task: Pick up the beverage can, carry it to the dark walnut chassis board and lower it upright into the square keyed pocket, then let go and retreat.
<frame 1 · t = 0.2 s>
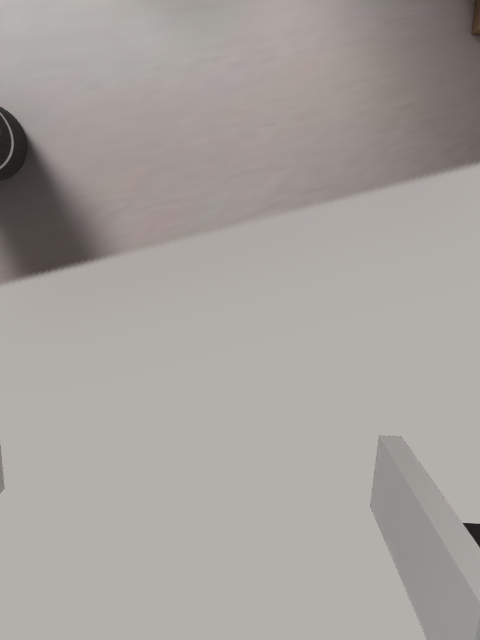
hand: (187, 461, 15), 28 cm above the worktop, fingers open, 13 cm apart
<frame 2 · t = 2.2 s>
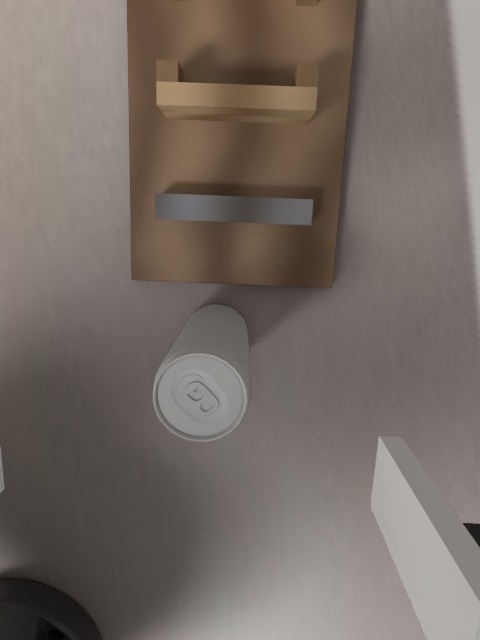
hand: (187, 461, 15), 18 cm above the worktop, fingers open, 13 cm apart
chassis: (238, 117, 29), on the worktop
beverage can: (217, 333, 32), on the worktop
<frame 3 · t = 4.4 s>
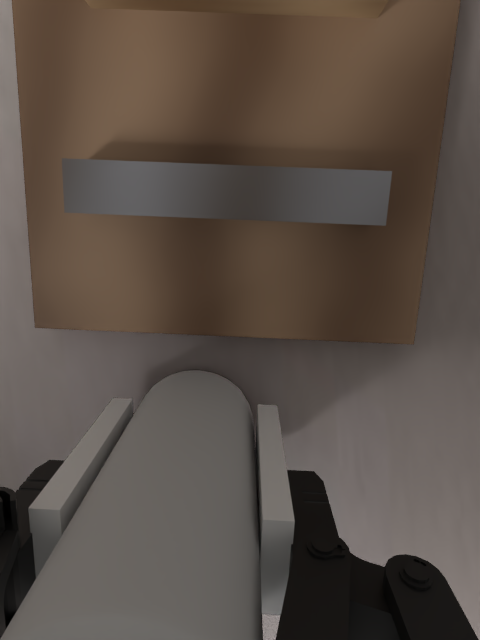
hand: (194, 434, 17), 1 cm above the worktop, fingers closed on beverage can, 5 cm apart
chassis: (235, 13, 14), on the worktop
beverage can: (198, 417, 18), on the worktop, touching gripper
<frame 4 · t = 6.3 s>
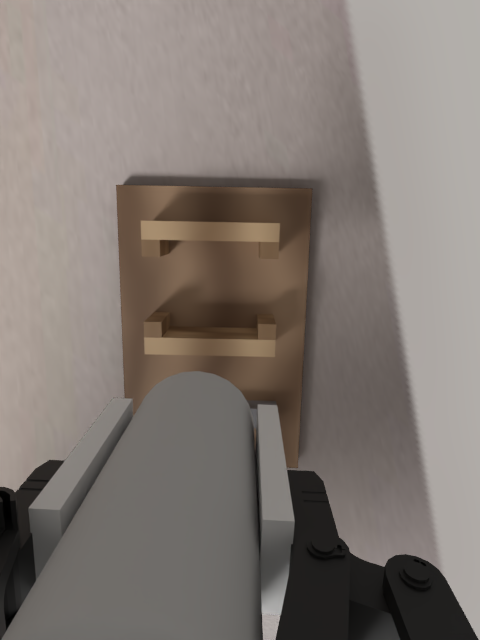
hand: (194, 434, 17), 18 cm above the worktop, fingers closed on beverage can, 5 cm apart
chassis: (214, 332, 34), on the worktop
beverage can: (198, 418, 18), point 16 cm above the worktop, touching gripper
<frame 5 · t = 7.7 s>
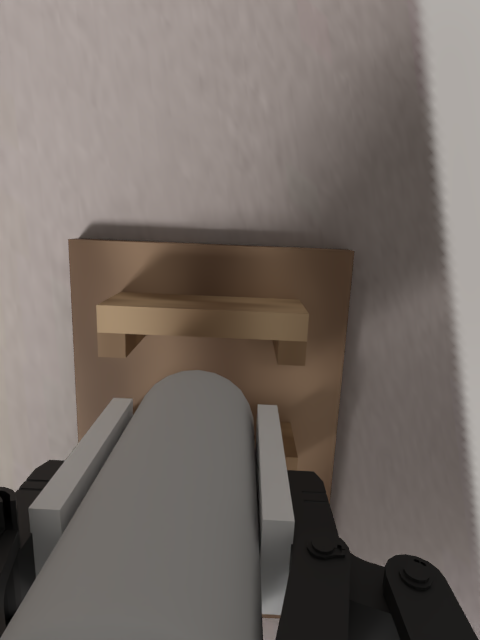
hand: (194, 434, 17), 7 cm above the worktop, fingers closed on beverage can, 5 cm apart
chassis: (208, 438, 25), on the worktop
beverage can: (198, 417, 18), point 6 cm above the worktop, touching gripper
when the fingers open (4 cm above the worktop, at t = 8.7 s): beverage can drops 1 cm, resting on chassis.
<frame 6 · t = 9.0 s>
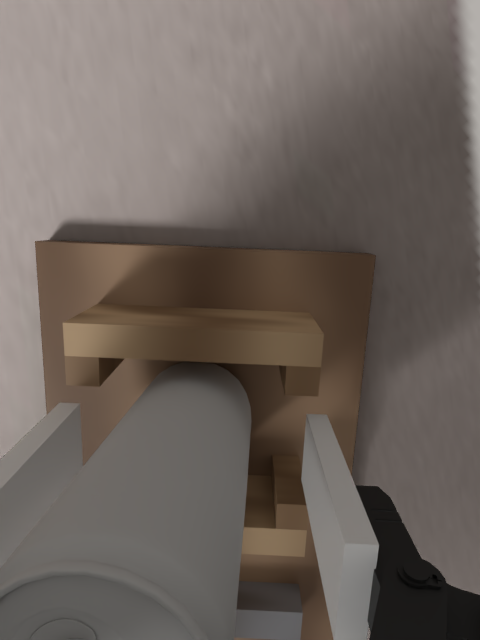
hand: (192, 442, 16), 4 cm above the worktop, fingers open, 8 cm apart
chassis: (202, 471, 21), on the worktop
beverage can: (200, 407, 19), point 1 cm above the worktop, touching chassis
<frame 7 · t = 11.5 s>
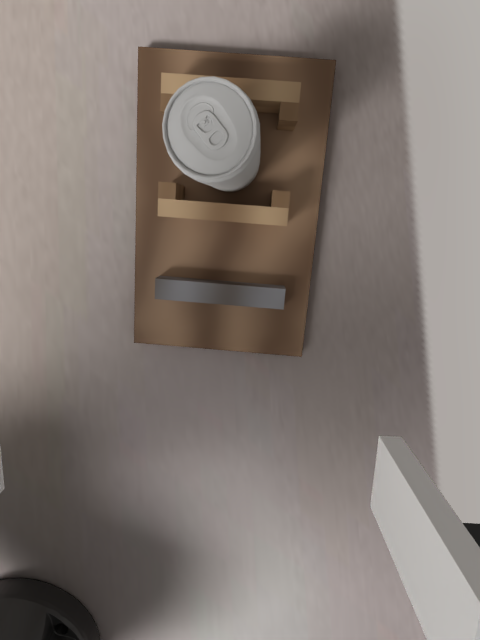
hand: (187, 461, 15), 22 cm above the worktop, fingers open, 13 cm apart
chassis: (227, 213, 34), on the worktop
beverage can: (229, 159, 32), point 1 cm above the worktop, touching chassis
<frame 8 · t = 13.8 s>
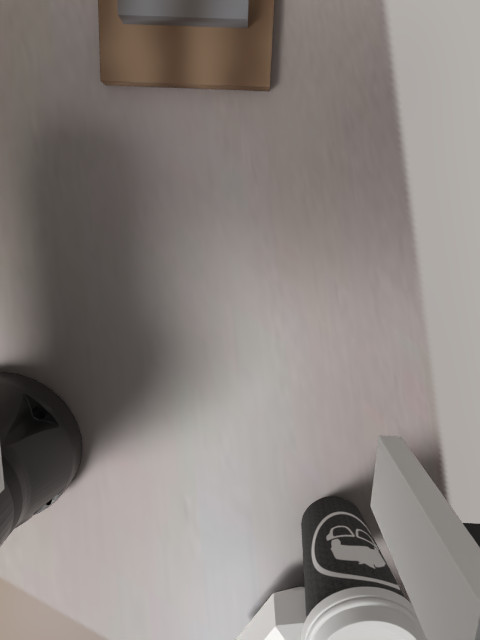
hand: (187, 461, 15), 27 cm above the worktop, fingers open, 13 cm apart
coffee cup: (331, 522, 46), on the worktop
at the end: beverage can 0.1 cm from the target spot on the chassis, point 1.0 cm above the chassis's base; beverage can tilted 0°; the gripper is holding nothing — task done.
